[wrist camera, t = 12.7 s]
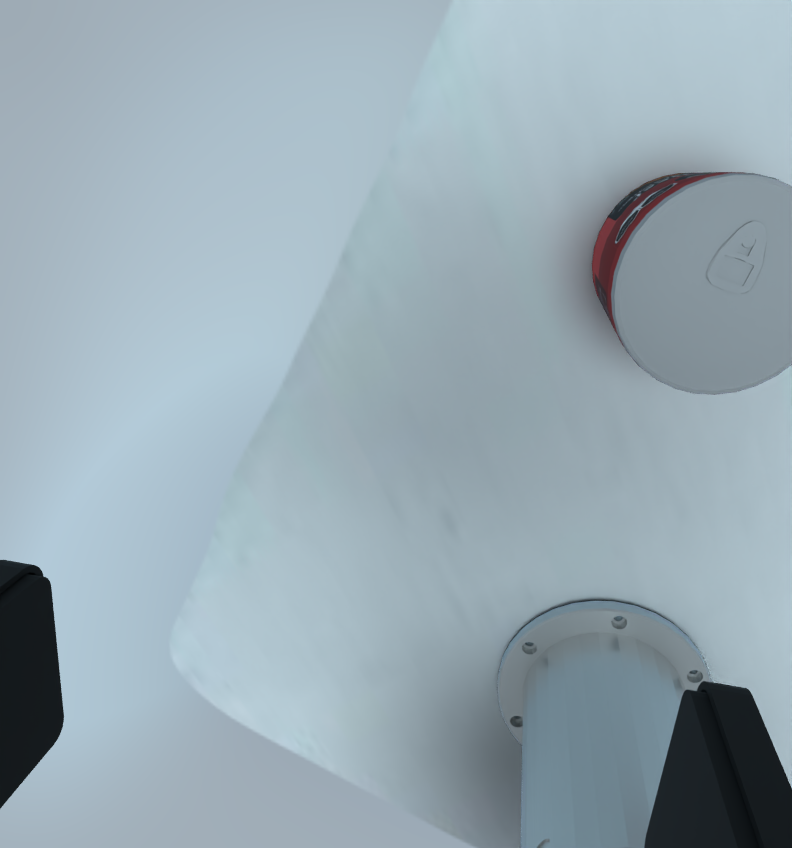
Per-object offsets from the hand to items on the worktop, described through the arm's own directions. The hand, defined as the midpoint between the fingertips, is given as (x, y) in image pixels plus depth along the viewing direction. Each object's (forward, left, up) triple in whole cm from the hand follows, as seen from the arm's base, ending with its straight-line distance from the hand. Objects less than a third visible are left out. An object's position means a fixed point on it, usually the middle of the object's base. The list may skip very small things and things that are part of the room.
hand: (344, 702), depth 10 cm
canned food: (+4, -9, -31) cm, 32 cm away
